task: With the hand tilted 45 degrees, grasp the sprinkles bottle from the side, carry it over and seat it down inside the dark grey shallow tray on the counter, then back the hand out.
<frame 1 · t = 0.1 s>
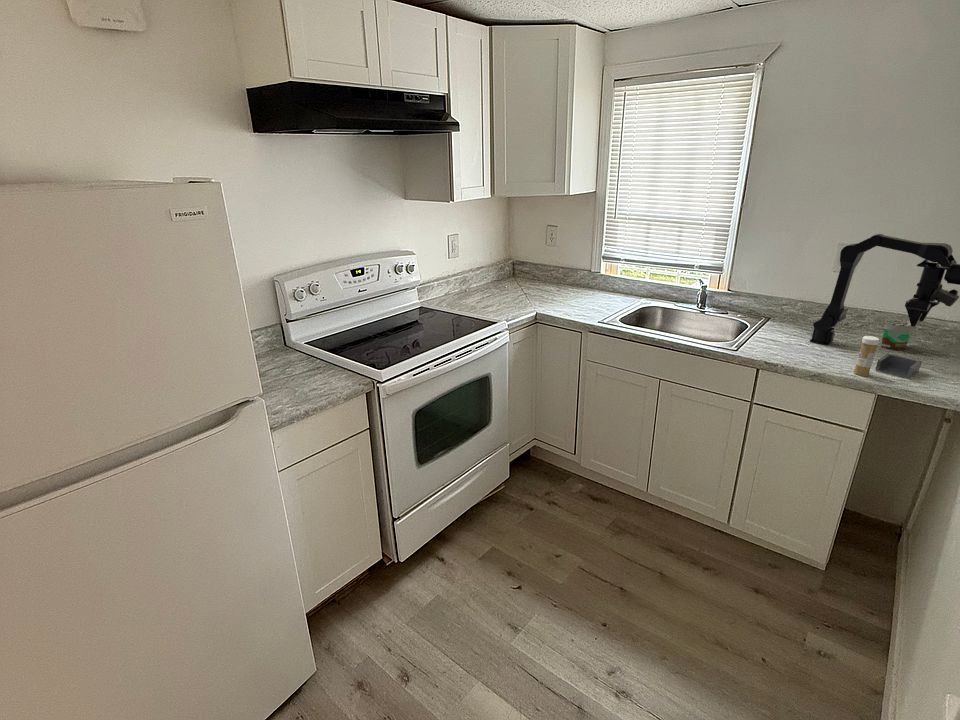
hand: (917, 323, 184), 15 cm above the worktop, tool pointing down, fingers open, 9 cm apart
dark grey shallow tray: (896, 371, 182), on the worktop
food container: (897, 349, 202), on the worktop
sprinkles bottle: (861, 374, 180), on the worktop
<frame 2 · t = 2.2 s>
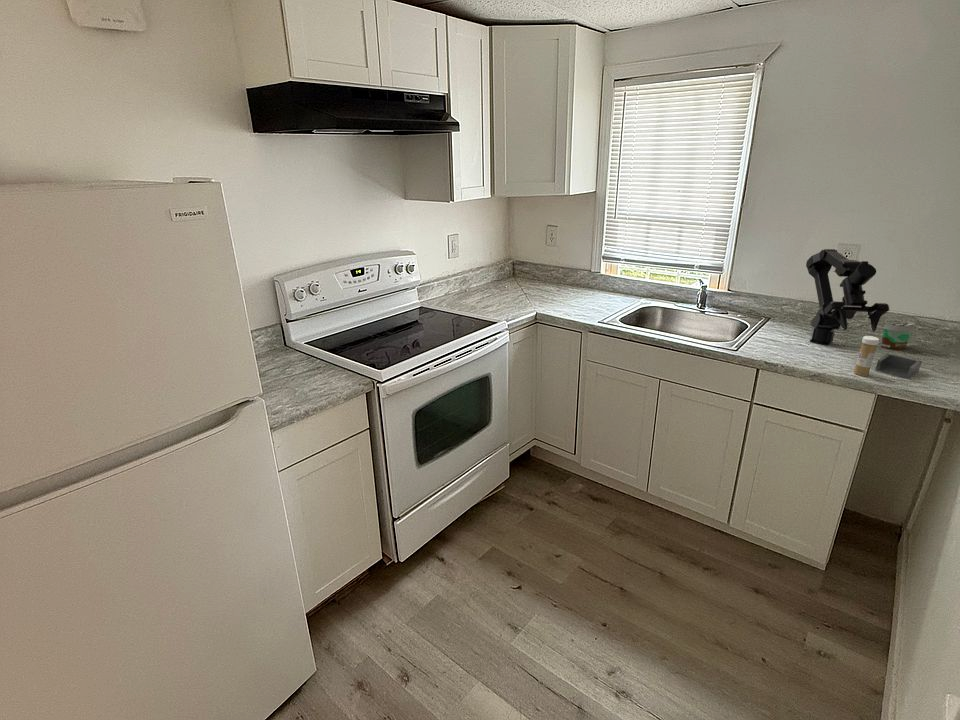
hand: (859, 330, 183), 13 cm above the worktop, tool tilted 45°, fingers open, 9 cm apart
nothing on the worktop moved.
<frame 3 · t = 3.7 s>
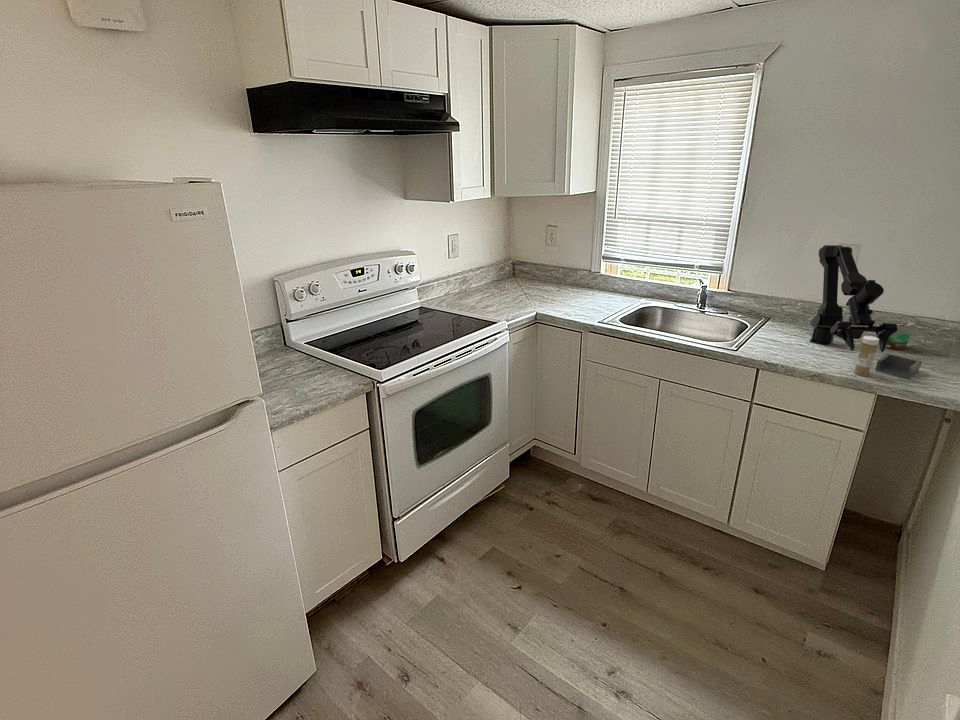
hand: (867, 351, 177), 9 cm above the worktop, tool tilted 45°, fingers open, 9 cm apart
nothing on the worktop moved.
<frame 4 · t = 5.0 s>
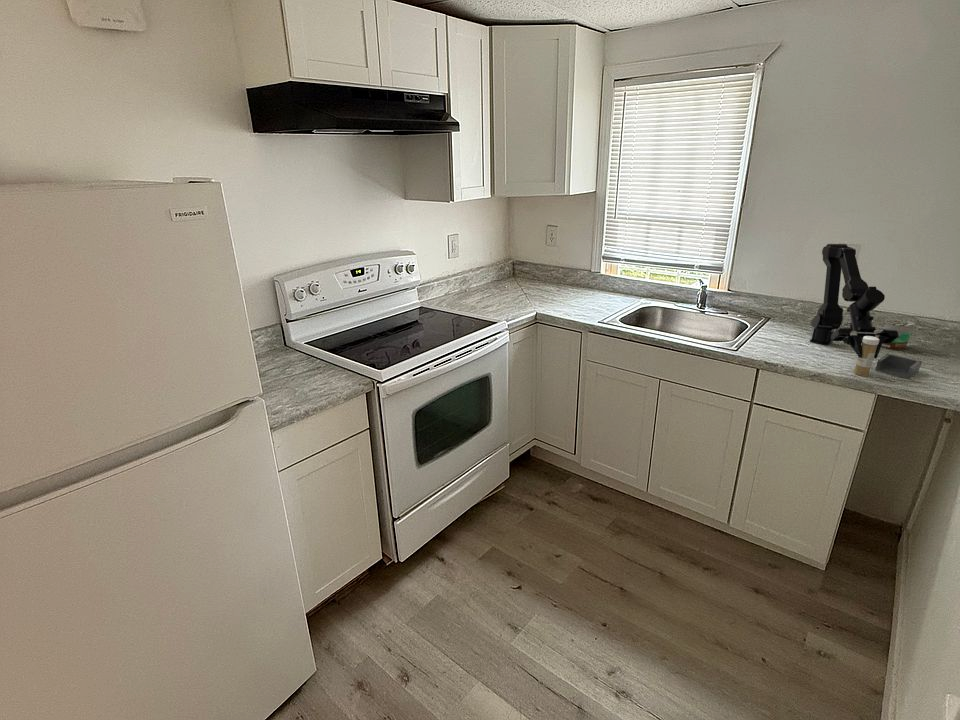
hand: (868, 357, 176), 7 cm above the worktop, tool tilted 45°, fingers closed on sprinkles bottle, 4 cm apart
sprinkles bottle: (861, 374, 180), on the worktop, touching gripper
everything else where it was.
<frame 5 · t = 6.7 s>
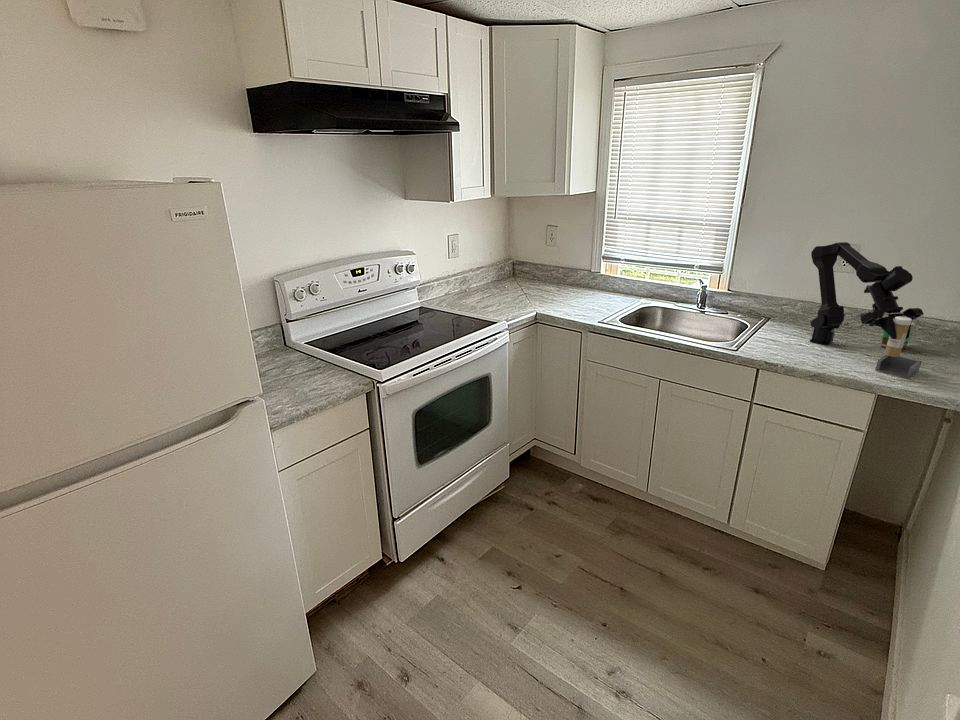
hand: (901, 338, 175), 13 cm above the worktop, tool tilted 45°, fingers closed on sprinkles bottle, 4 cm apart
sprinkles bottle: (891, 355, 179), point 6 cm above the worktop, touching gripper
everything else where it was.
when the fingers open (8 cm above the worktop, at t = 8.6 s): sprinkles bottle drops 1 cm, resting on dark grey shallow tray.
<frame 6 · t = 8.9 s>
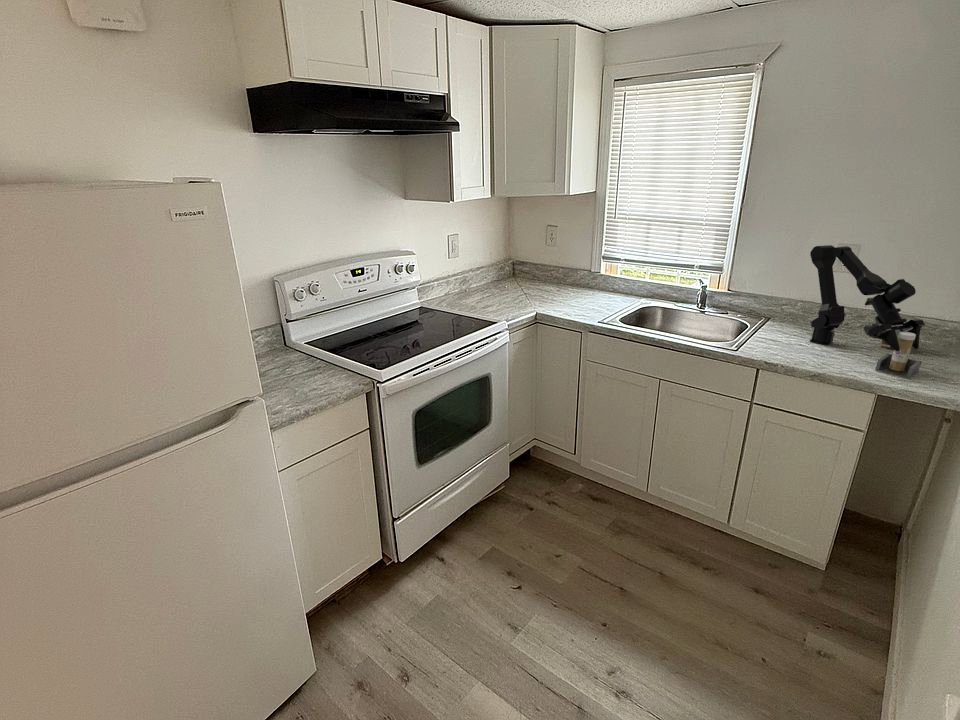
hand: (907, 349, 177), 9 cm above the worktop, tool tilted 45°, fingers open, 8 cm apart
sprinkles bottle: (896, 370, 182), resting on dark grey shallow tray
everything else where it was.
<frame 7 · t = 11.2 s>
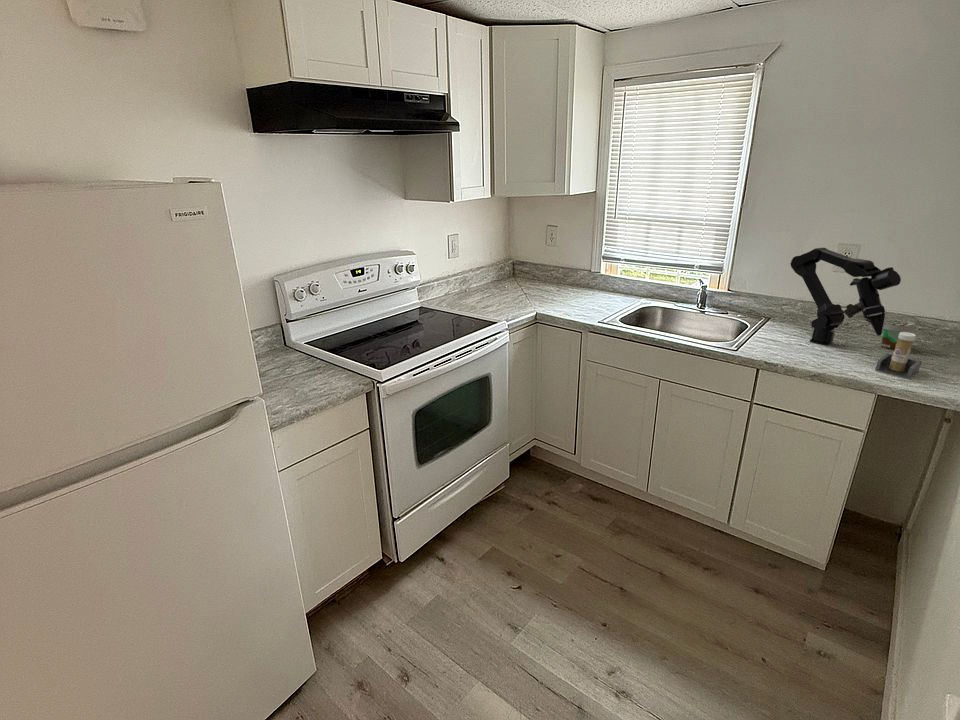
hand: (879, 335, 188), 10 cm above the worktop, tool tilted 30°, fingers open, 9 cm apart
nothing on the worktop moved.
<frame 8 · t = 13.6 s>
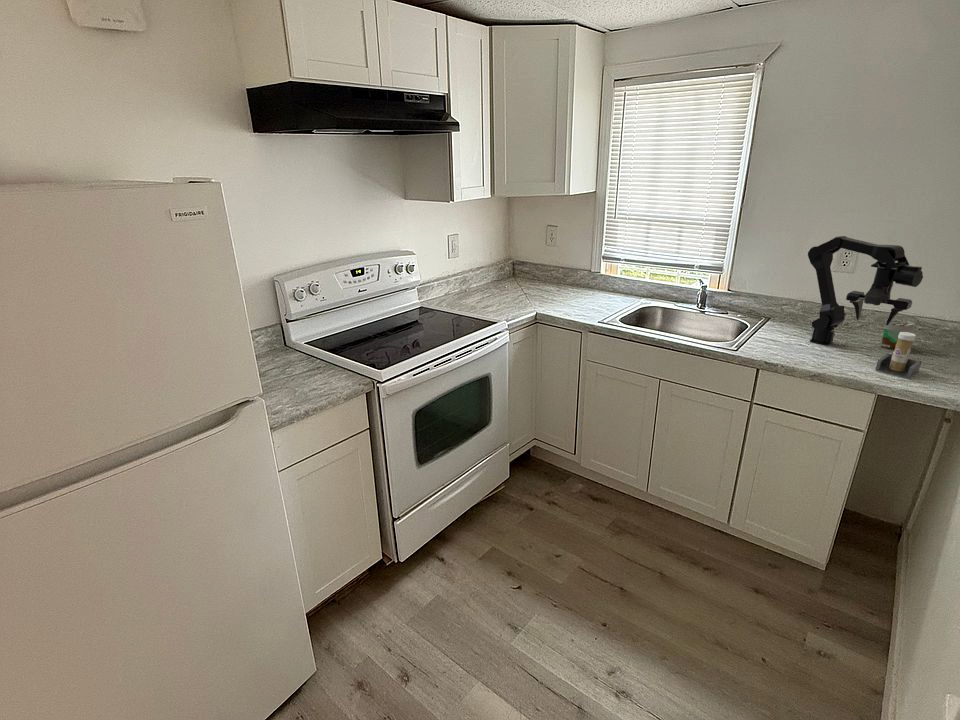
hand: (872, 322, 192), 13 cm above the worktop, tool pointing down, fingers open, 9 cm apart
nothing on the worktop moved.
at the end: sprinkles bottle inside the target area on the dark grey shallow tray (0.4 cm from its centre), point 0.3 cm above the dark grey shallow tray's base; sprinkles bottle tilted 0°; the gripper is holding nothing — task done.
